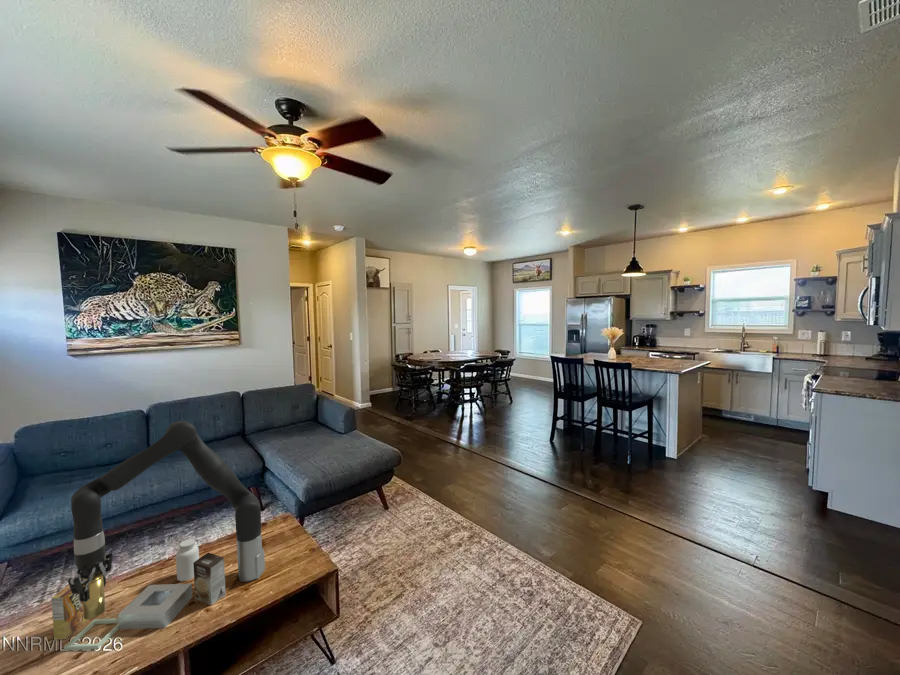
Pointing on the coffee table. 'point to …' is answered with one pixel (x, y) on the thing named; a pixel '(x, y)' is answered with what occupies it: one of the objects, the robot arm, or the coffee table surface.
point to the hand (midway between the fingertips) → (93, 593)
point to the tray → (96, 621)
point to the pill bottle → (186, 559)
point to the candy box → (66, 613)
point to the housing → (155, 606)
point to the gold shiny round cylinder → (95, 598)
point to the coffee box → (209, 578)
